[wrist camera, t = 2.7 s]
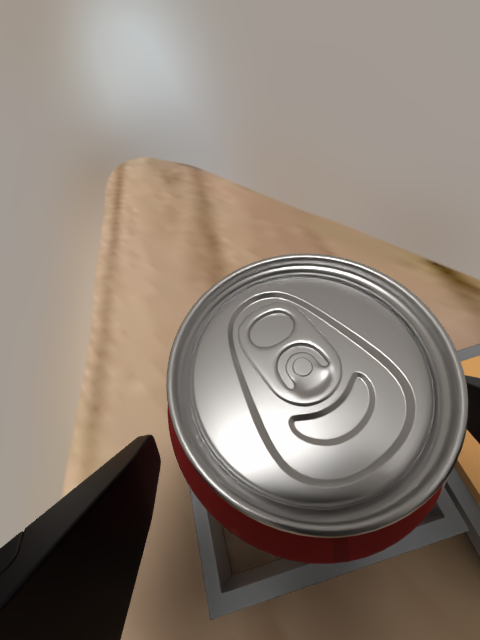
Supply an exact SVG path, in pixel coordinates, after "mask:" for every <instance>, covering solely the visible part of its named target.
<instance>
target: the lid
mask: <svg viewBox="0 0 480 640" xmlns="http://www.w3.org/2000/svg"><path fill="white" fill-rule="evenodd" d="M457 353H458V356H459V358H460V361H461V364H462V367H463V370H464V375H467V376H472V377H477V378H480V344H478V345H475V346H472V347H469V348H466V349H463V350H460V351H457ZM444 487H445V489H446V491H447V493H448V494H449V496H450V498H451V499H452V501H453V503H454V505H455V506H456V508H457V510H458V511H459V513H460V515H461V517H462V518H463V520H464V522H465V523H466V525H467V527H468V529H469V530H470V531H467V532H466V534H467V535H468V537H469V539H470V541H471V542H472V544H473V546H474V547H475V549H476V551H477V553H478V554H479V556H480V444H479V443H478V442H477V441H476V439H475V438H474V437H473V436H472V435H471V434H470V433H469V431H468V430H466V435H465V439H464V442H463V446H462V449H461V452H460V454H459V457H458V459H457V461H456V464H455V466H454V467H453V469H452V471H451V472H450V474H449V476H448V479H447V481H446V484H445V486H444Z"/></svg>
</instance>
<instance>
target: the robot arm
mask: <svg viewBox="0 0 480 640" xmlns="http://www.w3.org/2000/svg"><path fill="white" fill-rule="evenodd" d="M465 379H466V384H467V392H468V422H467V430H468V431H469V433H470V434H471V435H472V436H473V437H474V438H475V439H476V441H477V442H478V443H479V444H480V378H477V377H472V376H467V375H465ZM160 465H161V459H160V455H159V452H158V449H157V446H156V442H155V439H154V437H153V436H152V435H145V436H140V437H137V438H136V439H135V440H134V441H132V442H131V443H130V444H129V445H128V446H126V447H125V448H124V449H123V450H121V451H120V452H119V453H118V454H116V455H115V456H114V457H113V458H111V459H110V460H109V461H108V462H107V463H105V464H104V465H103V466H102V467H100V468H99V469H98V470H97V471H95V472H94V473H93V474H92V475H90V476H89V477H88V478H87V479H86V480H84V481H83V482H82V483H81V484H79V485H78V486H77V487H76V488H74V489H73V490H72V491H71V492H70V493H68V494H67V495H66V496H65V497H63V498H62V499H61V500H60V501H58V502H57V503H56V504H55V505H54V506H52V507H51V508H50V509H49V510H47V511H46V512H45V513H44V514H42V515H41V516H40V517H39V518H37V519H36V520H35V521H34V522H33V523H31V524H30V525H29V526H28V527H26V528H25V530H24V532H23V531H22V532H20V533H19V534H18V535H16V536H15V537H14V538H13V539H11V541H9V542H8V543H7V544H5V545H4V546H3V547H2V548H0V640H120V639H121V635H122V631H123V628H124V624H125V620H126V616H127V612H128V608H129V605H130V601H131V597H132V593H133V589H134V585H135V582H136V578H137V574H138V570H139V566H140V562H141V559H142V555H143V551H144V547H145V543H146V539H147V536H148V532H149V528H150V524H151V520H152V515H153V510H154V504H155V497H156V491H157V484H158V478H159V472H160Z"/></svg>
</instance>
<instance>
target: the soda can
mask: <svg viewBox="0 0 480 640" xmlns="http://www.w3.org/2000/svg"><path fill="white" fill-rule="evenodd" d="M166 387H167V401H168V423H169V431H170V437H171V442H172V445H173V449H174V453H175V456H176V459H177V461H178V464H179V467H180V469H181V471H182V473H183V475H184V477H185V479H186V481H187V483H188V484H189V486H190V488H191V489H192V491H193V492H194V494H195V496H196V497H197V498H198V500H199V501H200V502H201V503H202V505H203V506H204V507H205V509H206V510H207V511H208V512H209V513H210V514H211V515H212V516H213V517H214V518H215V519H216V520H217V521H218V522H219V523H220V524H222V525H223V526H224V527H225V528H226V529H227V530H229V531H230V532H231V533H233V534H234V535H236V536H237V537H238V538H240V539H241V540H243V541H244V542H246V543H248V544H250V545H252V546H254V547H256V548H257V549H259V550H262V551H264V552H267V553H269V554H272V555H274V556H277V557H281V558H284V559H288V560H292V561H297V562H304V563H311V564H334V563H343V562H350V561H354V560H358V559H362V558H366V557H368V556H371V555H373V554H376V553H378V552H381V551H383V550H385V549H387V548H388V547H390V546H392V545H394V544H396V543H397V542H399V541H400V540H401V539H403V538H404V537H405V536H407V535H408V534H409V533H411V532H412V531H413V530H414V529H415V528H416V527H417V526H418V525H419V524H420V523H421V522H422V521H423V520H424V519H425V517H426V516H427V515H428V513H429V512H430V511H431V509H432V508H433V507H434V505H435V503H436V502H437V500H438V498H439V496H440V495H441V493H442V491H443V488H444V486H445V484H446V481H447V479H448V476H449V474H450V472H451V471H452V469H453V467H454V466H455V464H456V461H457V459H458V457H459V454H460V452H461V449H462V446H463V442H464V439H465V435H466V430H467V422H468V392H467V384H466V379H465V375H464V370H463V367H462V364H461V361H460V358H459V356H458V353H457V351H456V349H455V347H454V344H453V342H452V341H451V339H450V337H449V335H448V334H447V332H446V330H445V329H444V327H443V326H442V324H441V323H440V322H439V320H438V319H437V318H436V316H435V315H434V314H433V313H432V312H431V310H430V309H429V308H428V307H427V306H426V305H425V304H424V303H423V302H422V301H421V300H420V299H419V298H418V297H417V296H416V295H414V294H413V293H412V292H411V291H410V290H408V289H407V288H406V287H404V286H403V285H402V284H400V283H399V282H397V281H396V280H394V279H392V278H391V277H389V276H387V275H386V274H384V273H382V272H380V271H378V270H376V269H374V268H371V267H369V266H366V265H364V264H361V263H358V262H355V261H352V260H348V259H344V258H341V257H335V256H330V255H321V254H290V255H282V256H276V257H271V258H267V259H263V260H260V261H257V262H254V263H251V264H249V265H246V266H244V267H242V268H240V269H238V270H236V271H234V272H232V273H230V274H229V275H227V276H225V277H224V278H222V279H221V280H220V281H218V282H217V283H216V284H214V285H213V286H212V287H211V288H210V289H209V290H207V291H206V292H205V293H204V294H203V295H202V296H201V297H200V298H199V299H198V301H197V302H196V303H195V304H194V306H193V307H192V308H191V309H190V311H189V312H188V314H187V315H186V317H185V319H184V320H183V322H182V324H181V326H180V328H179V330H178V332H177V334H176V337H175V339H174V342H173V345H172V348H171V352H170V357H169V361H168V369H167V386H166Z"/></svg>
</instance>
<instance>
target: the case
mask: <svg viewBox="0 0 480 640" xmlns="http://www.w3.org/2000/svg"><path fill="white" fill-rule="evenodd" d="M189 487H190V486H189ZM190 493H191V500H192V506H193V513H194V519H195V525H196V532H197V538H198V545H199V551H200V558H201V564H202V571H203V577H204V584H205V590H206V597H207V603H208V609H209V616H210V620H211V619H214V618H217V617H220V616H223V615H226V614H229V613H232V612H235V611H238V610H240V609H243V608H246V607H249V606H252V605H255V604H258V603H261V602H264V601H267V600H270V599H272V598H275V597H278V596H281V595H284V594H287V593H290V592H293V591H296V590H299V589H301V588H304V587H307V586H310V585H313V584H316V583H319V582H322V581H325V580H328V579H331V578H333V577H336V576H339V575H342V574H345V573H348V572H351V571H354V570H357V569H360V568H363V567H365V566H368V565H371V564H374V563H377V562H380V561H383V560H386V559H389V558H392V557H394V556H397V555H400V554H403V553H406V552H409V551H412V550H415V549H418V548H421V547H424V546H426V545H429V544H432V543H435V542H438V541H441V540H444V539H447V538H450V537H453V536H455V535H458V534H461V533H464V532H467V531H470V530H469V529H468V527H467V525H466V523H465V522H464V520H463V518H462V517H461V515H460V513H459V511H458V510H457V508H456V506H455V505H454V503H453V501H452V499H451V498H450V496H449V494H448V493H447V491H446V489H445V487H444V488H443V491H442V493H441V495H440V496H439V498H438V500H437V502H436V503H435V505H434V507H433V508H432V509H431V511H430V512H429V513H428V515H427V516H426V517H425V519H424V520H423V521H422V522H421V523H420V524H419V525H418V526H417V527H416V528H415V529H414V530H413V531H412V532H411V533H409V534H408V535H407V536H405V537H404V538H403V539H401V540H400V541H399V542H397V543H396V544H394V545H392V546H390V547H388V548H387V549H385V550H383V551H381V552H378V553H376V554H373V555H371V556H368V557H366V558H362V559H358V560H354V561H350V562H343V563H334V564H311V563H304V562H297V561H292V560H288V559H284V558H282V559H279V560H276V561H273V562H270V563H267V564H264V565H261V566H258V567H256V568H253V569H250V570H247V571H244V572H241V573H238V574H235V575H231V570H230V565H229V560H228V554H227V549H226V544H225V539H224V534H223V529H222V524H220V523H219V522H218V521H217V520H216V519H215V518H214V517H213V516H212V515H211V514H210V513H209V512H208V511H207V510H206V509H205V507H204V506H203V505H202V503H201V502H200V501H199V500H198V498H197V497H196V496H195V494H194V492H193V491H192V489H191V488H190Z"/></svg>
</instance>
